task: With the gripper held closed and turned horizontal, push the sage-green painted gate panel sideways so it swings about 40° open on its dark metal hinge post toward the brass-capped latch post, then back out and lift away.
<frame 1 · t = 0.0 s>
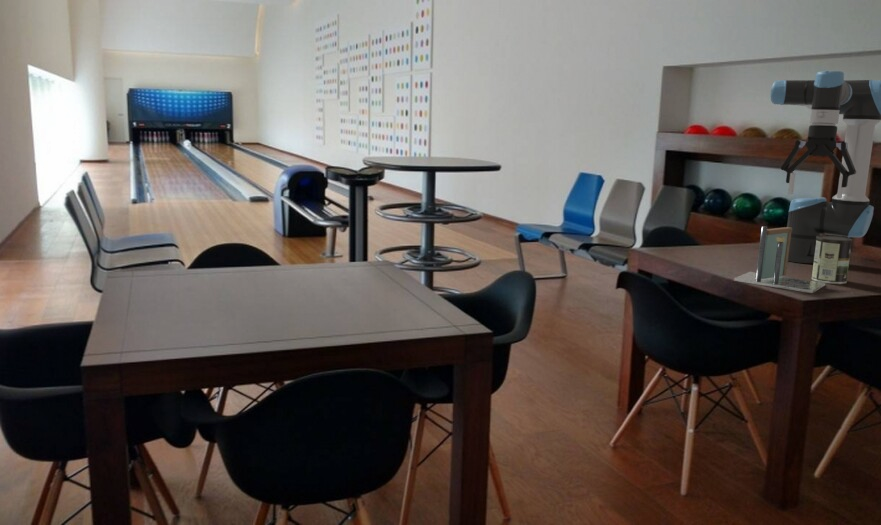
hand: (814, 196, 223), 28 cm above the table, tool pointing down, fingers open, 13 cm apart
coffee can: (828, 281, 239), on the table
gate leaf: (775, 252, 233), point 9 cm above the table, hinge at 0.0°
gate frame: (757, 283, 231), on the table
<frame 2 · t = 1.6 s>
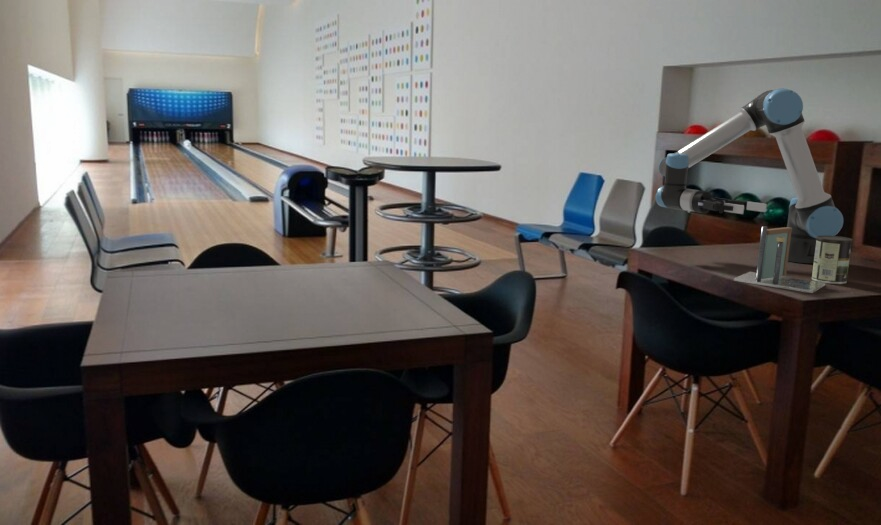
hand: (754, 208, 238), 22 cm above the table, tool horizontal, fingers open, 12 cm apart
nothing on the table moved.
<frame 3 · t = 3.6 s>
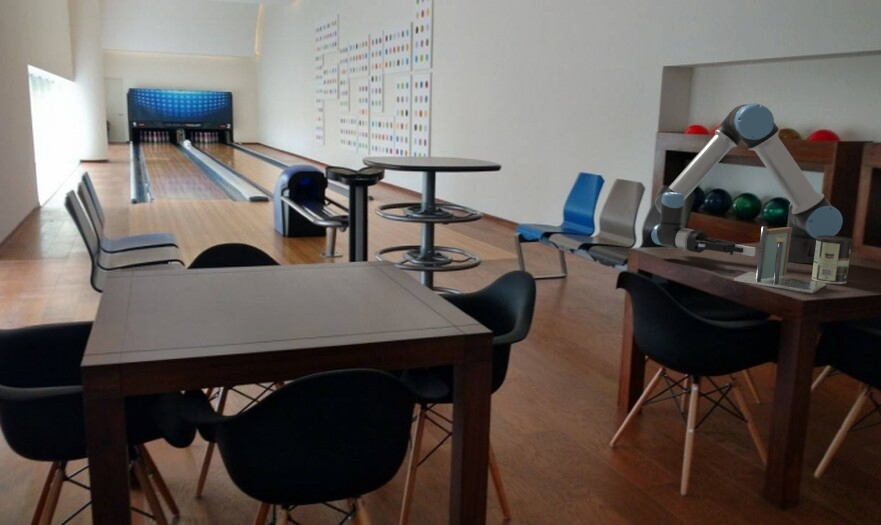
hand: (753, 252, 240), 8 cm above the table, tool horizontal, fingers closed
nothing on the table moved.
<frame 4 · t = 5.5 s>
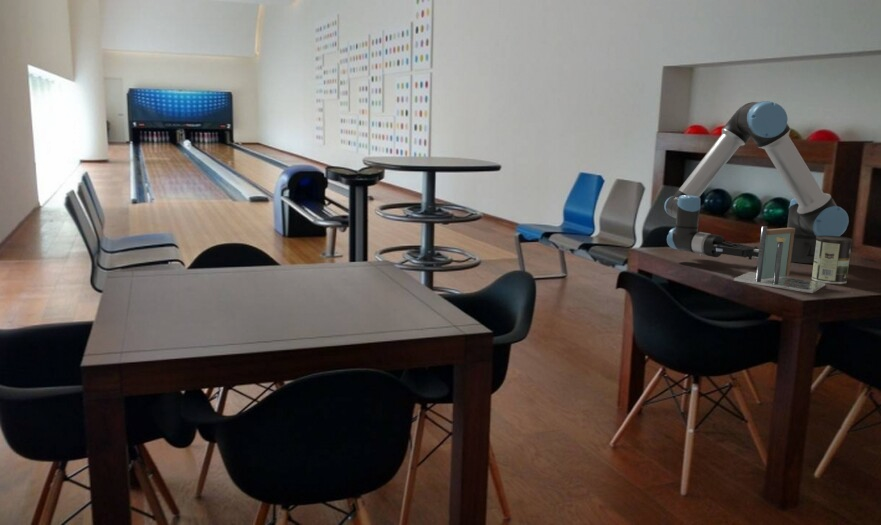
hand: (773, 256, 234), 8 cm above the table, tool horizontal, fingers closed
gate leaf: (777, 253, 233), point 9 cm above the table, hinge at 4.5°, touching gripper
everything else where it was.
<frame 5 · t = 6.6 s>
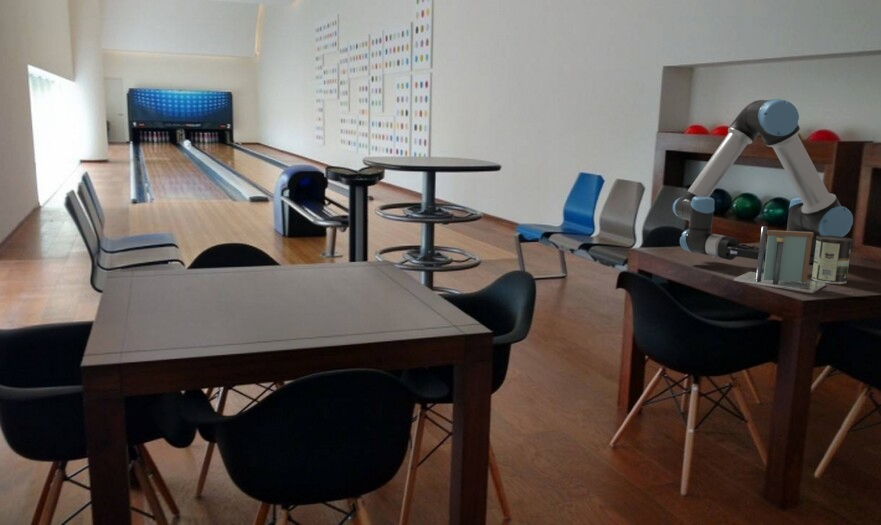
hand: (789, 259, 230), 8 cm above the table, tool horizontal, fingers closed
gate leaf: (787, 256, 228), point 9 cm above the table, hinge at 42.1°, touching gate frame, gripper
everything else where it was.
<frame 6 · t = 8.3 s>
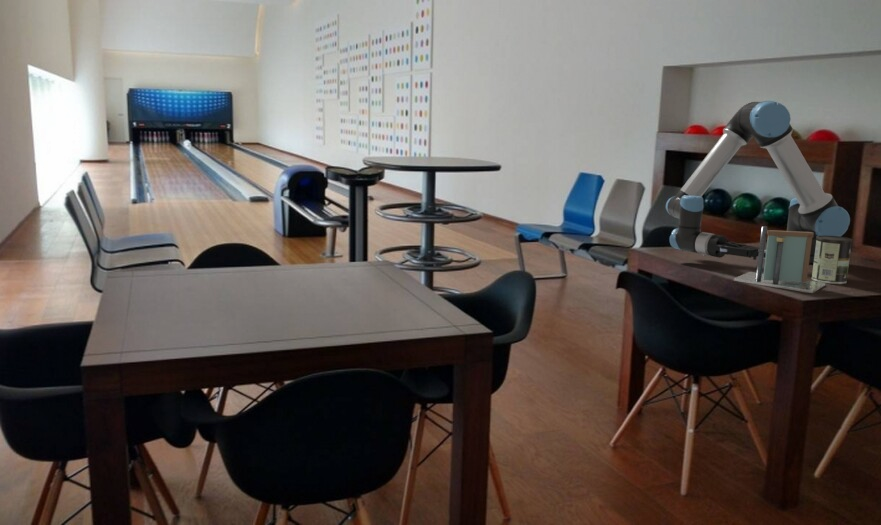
hand: (778, 256, 233), 8 cm above the table, tool horizontal, fingers closed
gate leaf: (787, 256, 228), point 9 cm above the table, hinge at 42.0°
everything else where it was.
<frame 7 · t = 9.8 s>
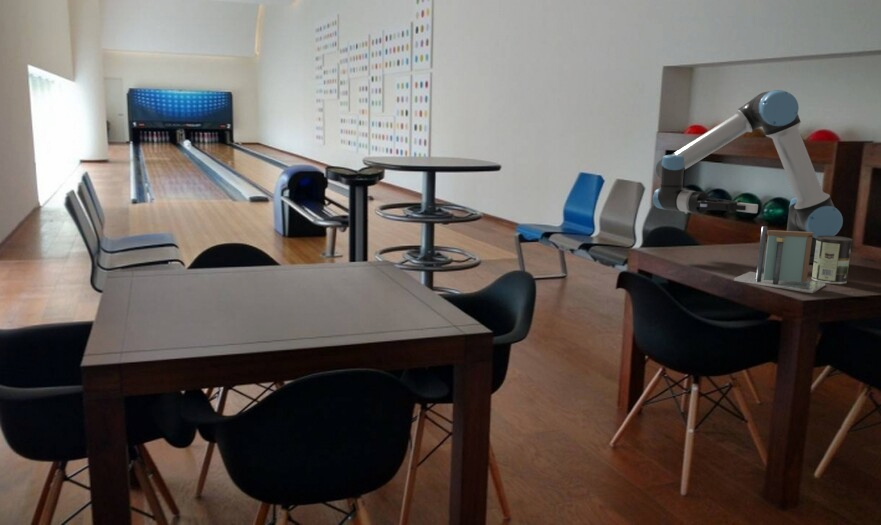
hand: (756, 208, 237), 22 cm above the table, tool horizontal, fingers closed
nothing on the table moved.
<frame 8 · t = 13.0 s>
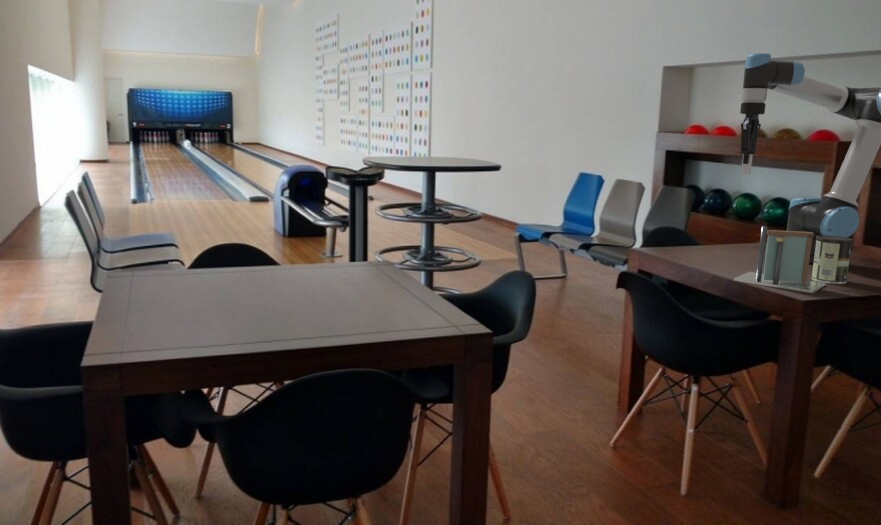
hand: (745, 173, 249), 32 cm above the table, tool pointing down, fingers closed
nothing on the table moved.
at the end: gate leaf at +42° (first picture: +0°); coffee can moved 0.2 cm from its start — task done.
